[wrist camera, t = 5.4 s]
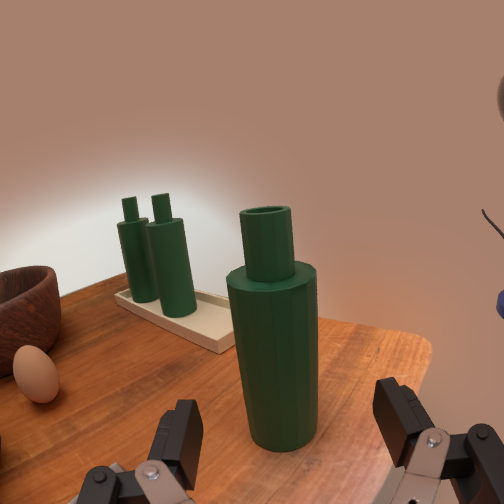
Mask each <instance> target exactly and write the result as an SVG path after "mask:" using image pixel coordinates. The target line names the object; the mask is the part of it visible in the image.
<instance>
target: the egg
mask: <svg viewBox="0 0 504 504" xmlns="http://www.w3.org/2000/svg"><path fill="white" fill-rule="evenodd" d="M13 372H14V377H15V381H16V383H17V385H18V387H19V389H20V390H21V392H22V393H23V394H24V395H25V396H26V397H27V398H29V399H30V400H32V401H34V402H37V403H48V402H50V401H52V400H53V399H54V398H55V396H56V395H57V393H58V390H59V385H60V380H59V375H58V372H57V369H56V367H55V365H54V363H53V362H52V360H51V359H50V358H49V357H48V356H47V355H46V354H45V353H44V352H43V351H42V350H40V349H39V348H37V347H35V346H31V345H25V346H22V347H21V348H20V349H19V350H18V351H17V352H16V354H15V356H14V362H13Z"/></svg>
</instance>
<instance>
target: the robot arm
mask: <svg viewBox="0 0 504 504" xmlns="http://www.w3.org/2000/svg"><path fill="white" fill-rule="evenodd" d="M497 105H498V109H499V112H500V115H501V117H502V119H503V121H504V75H503V77H502V78H501V80H500V83H499V86H498V90H497ZM482 213H483V215H484V217H485V218H486V219H487V220H488V222H489V223H490V224H491V225H492V226H493V227H494V228H495V229H496V230H497V231H498V232H499V233H500V235H501V236H502V237H503V239H504V234H503V233H502V232H501V230H500V229H499V228H498V227H497V226H496V225H495V224H494V223H493V222H492V221H491V220H490V219H489V218H488V217H487V216H486V214H485V212H484V210H483V209H482ZM373 414H374V417H375V419H376V422H377V424H378V426H379V429H380V431H381V434H382V436H383V438H384V441H385V443H386V446H387V448H388V450H389V453H390V455H391V458H392V460H393V463H394V465H395V467H396V468H397V467H400V466H404V468H405V470H406V471H405V473H404V475H403V477H402V480H401V482H400V484H399V486H398V489H397V491H396V493H395V495H394V497H393V499H392V501H391V503H390V504H433V502H434V499H435V497H436V494H437V491H438V488H439V485H440V481H441V480H445V479H450V481H451V484H452V486H453V488H454V491H455V493H456V496H457V498H458V501H459V504H504V444H503V443H502V441H501V440H500V438H499V436H498V435H497V433H496V432H495V430H494V429H493V428H492V427H491V426H489V425H487V424H476V425H474V426H472V427H471V428H470V429H469V431H468V433H466V434H458V435H457V434H456V435H449V434H448V433H447V432H446V431H444V430H443V429H440V428H436V427H435V426H434V424H433V423H432V421H431V419H430V417H429V416H428V414H427V412H426V411H425V409H424V408H423V406H422V405H421V403H420V401H419V400H418V398H417V396H416V395H415V393H414V391H413V390H411V389H410V388H408V387H407V386H406V385H402V386H399V385H398V383H397V381H396V380H395V378H394V377H389V378H385V379H380V380H377V381H376V386H375V393H374V399H373ZM202 439H203V423H202V419H201V416H200V413H199V409H198V406H197V402H196V400H178V401H177V404H176V408H175V410H168V411H167V412H166V413H165V414H164V415H163V416H162V417H161V419H160V422H159V425H158V428H157V431H156V435H155V437H154V440H153V443H152V447H151V450H150V453H149V456H148V459H147V461H145V462H143V463H141V464H140V465H139V466H138V467H137V468H136V470H133V471H127V472H119V473H115V472H114V471H113V470H112V469H111V468H110V467H107V466H97V467H94V468H92V469H91V470H90V471H89V472H88V473H87V475H86V477H85V480H84V482H83V485H82V488H81V490H80V493H79V496H78V499H77V502H76V504H196V502H195V501H194V500H193V499H192V498H190V497H189V496H188V494H187V493H186V490H194V487H195V481H196V475H197V469H198V463H199V457H200V451H201V445H202Z"/></svg>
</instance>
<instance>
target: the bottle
mask: <svg viewBox="0 0 504 504" xmlns="http://www.w3.org/2000/svg"><path fill="white" fill-rule="evenodd" d="M239 215H240V223H241V232H242V241H243V249H244V258H245V266H241V267H239V268H238V269H235V270H233V271H231V272H230V273H229V275H228V276H227V277H226V282H227V289H228V296H229V303H230V310H231V317H232V323H233V330H234V337H235V343H236V350H237V356H238V362H239V368H240V375H241V381H242V387H243V393H244V399H245V405H246V411H247V416H248V422H249V428H250V433H251V436H252V438H253V440H254V441H255V442H256V443H257V444H258V445H259V446H261V447H262V448H264V449H267V450H270V451H275V452H287V451H292V450H296V449H298V448H301V447H303V446H304V445H306V444H307V443H308V442H310V440H311V439H312V438H313V437H314V435H315V433H316V429H317V414H318V310H317V308H318V307H317V277H316V269H315V268H313V267H312V266H311V265H310V264H306V263H303V262H300V261H295V260H294V246H293V233H292V220H291V209H290V208H289V207H287V206H267V207H258V208H252V209H247V210H243V211H241V212H240V214H239Z"/></svg>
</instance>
